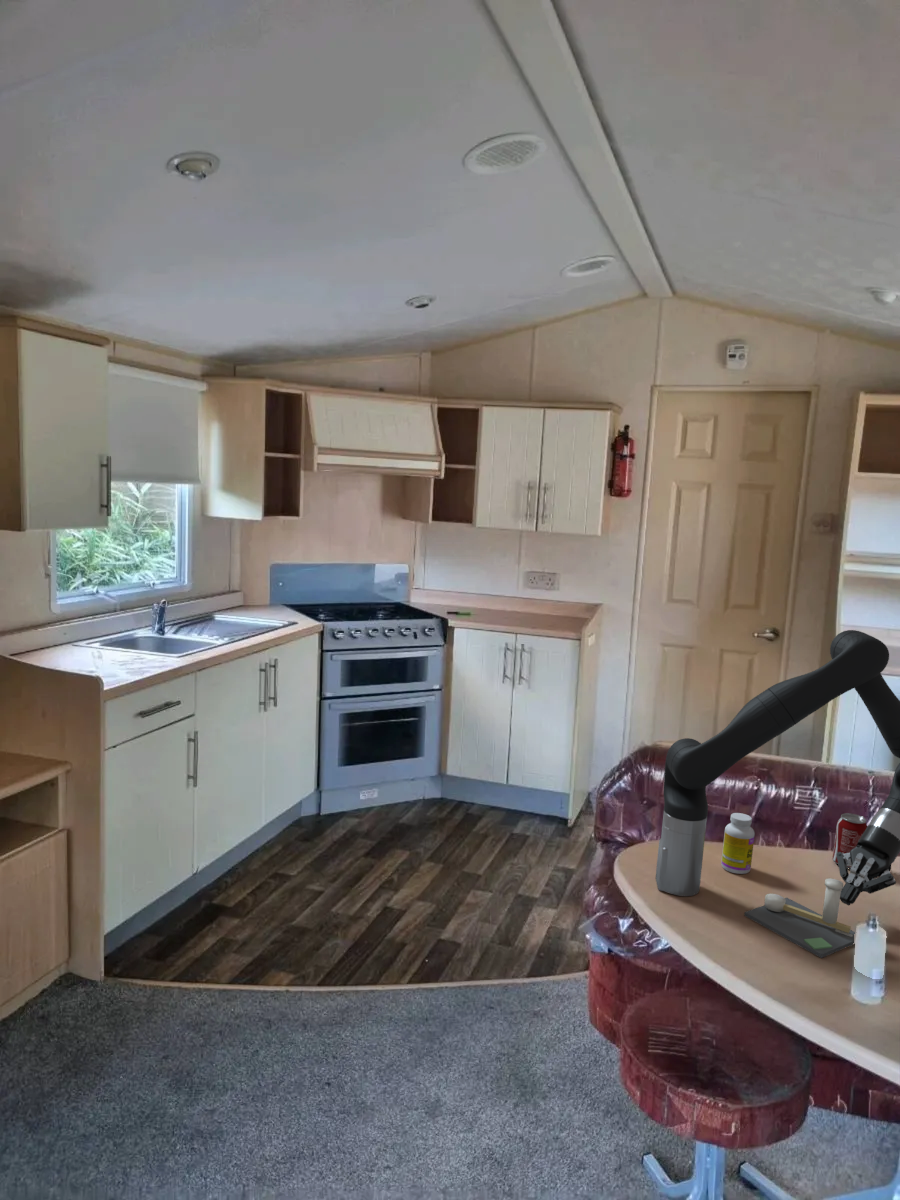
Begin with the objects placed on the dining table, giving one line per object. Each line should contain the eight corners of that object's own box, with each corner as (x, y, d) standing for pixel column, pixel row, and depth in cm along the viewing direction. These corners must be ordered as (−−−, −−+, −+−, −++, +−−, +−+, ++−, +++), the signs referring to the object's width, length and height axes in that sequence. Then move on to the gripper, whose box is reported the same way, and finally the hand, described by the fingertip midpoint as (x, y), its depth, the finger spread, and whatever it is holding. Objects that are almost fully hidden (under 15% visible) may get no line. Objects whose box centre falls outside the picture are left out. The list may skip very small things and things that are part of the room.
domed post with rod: (761, 907, 183) (766, 864, 182) (768, 900, 186) (773, 858, 185) (846, 937, 173) (852, 892, 171) (852, 929, 176) (858, 885, 174)
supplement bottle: (748, 877, 199) (754, 824, 198) (718, 870, 202) (724, 818, 200) (751, 866, 205) (757, 815, 204) (723, 859, 208) (728, 809, 206)
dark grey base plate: (821, 958, 167) (822, 952, 167) (744, 915, 182) (744, 910, 181) (863, 940, 174) (864, 935, 174) (786, 900, 189) (786, 896, 189)
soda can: (865, 873, 206) (872, 825, 204) (835, 868, 207) (841, 821, 205) (858, 861, 212) (864, 814, 210) (829, 857, 213) (835, 810, 212)
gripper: (851, 814, 187) (809, 879, 182) (911, 837, 176) (868, 907, 171) (862, 833, 191) (821, 897, 186) (921, 857, 180) (880, 926, 175)
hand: (844, 902), depth 179 cm, fingers closed
